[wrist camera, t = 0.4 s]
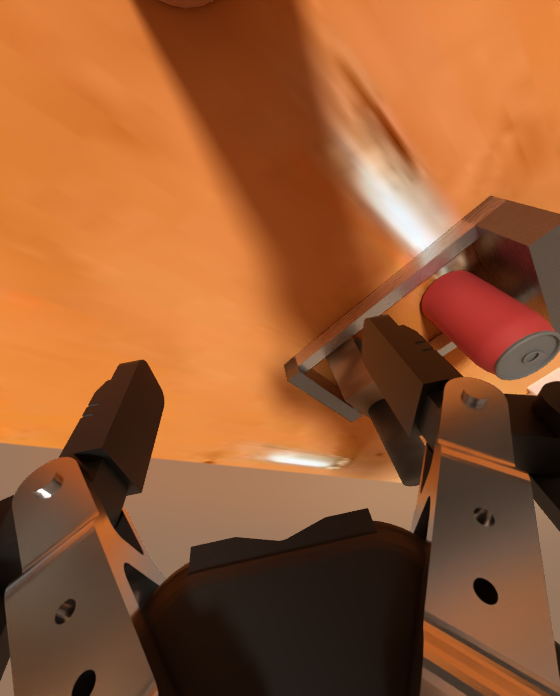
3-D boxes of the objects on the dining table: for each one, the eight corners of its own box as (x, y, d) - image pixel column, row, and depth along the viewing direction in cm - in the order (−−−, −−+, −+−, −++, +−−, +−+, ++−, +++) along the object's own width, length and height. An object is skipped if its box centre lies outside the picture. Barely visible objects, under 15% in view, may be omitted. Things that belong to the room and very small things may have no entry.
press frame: (490, 195, 27) (569, 216, 20) (523, 287, 34) (587, 322, 28) (283, 365, 37) (295, 413, 30) (345, 406, 44) (364, 452, 38)
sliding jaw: (352, 330, 34) (424, 446, 22) (390, 367, 39) (465, 477, 27) (324, 353, 36) (375, 473, 23) (364, 385, 41) (423, 497, 29)
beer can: (454, 317, 36) (533, 384, 27) (409, 316, 35) (476, 385, 25) (483, 269, 32) (588, 327, 23) (434, 266, 31) (523, 326, 21)
